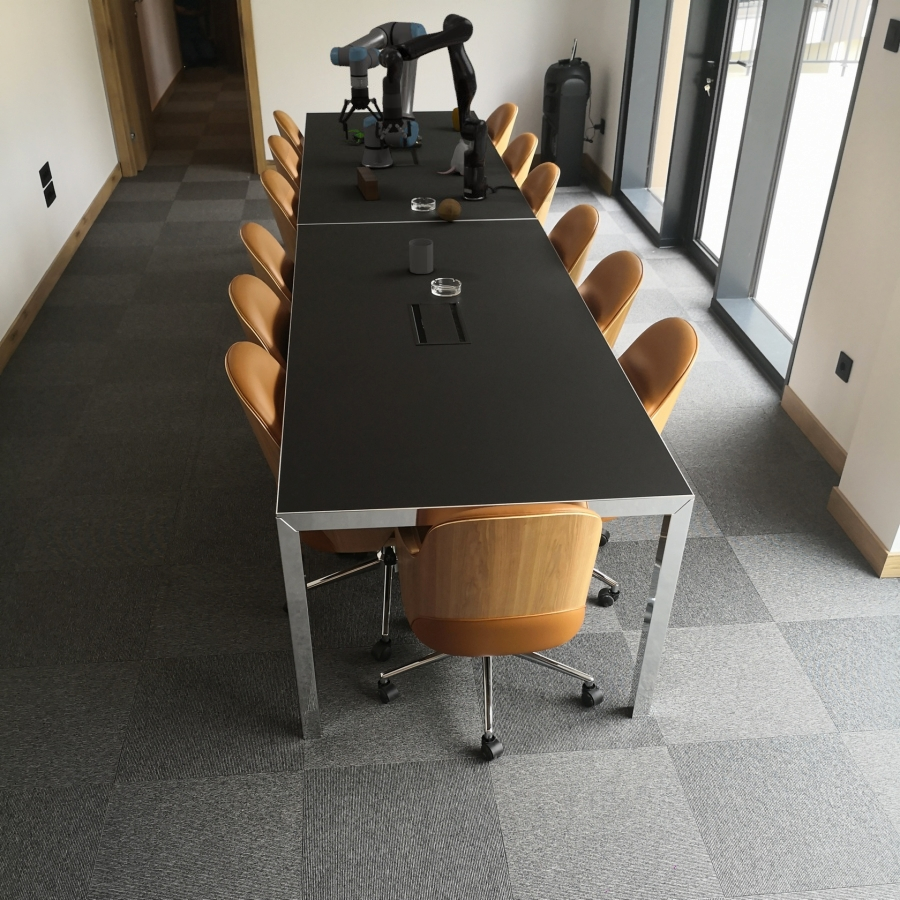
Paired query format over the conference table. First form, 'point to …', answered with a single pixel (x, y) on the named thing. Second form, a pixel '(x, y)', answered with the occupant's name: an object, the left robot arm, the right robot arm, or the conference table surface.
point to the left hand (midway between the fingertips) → (362, 138)
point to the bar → (367, 183)
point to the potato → (449, 209)
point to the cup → (421, 256)
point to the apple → (455, 119)
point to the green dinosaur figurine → (356, 137)
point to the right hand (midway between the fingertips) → (393, 148)
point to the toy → (458, 158)
